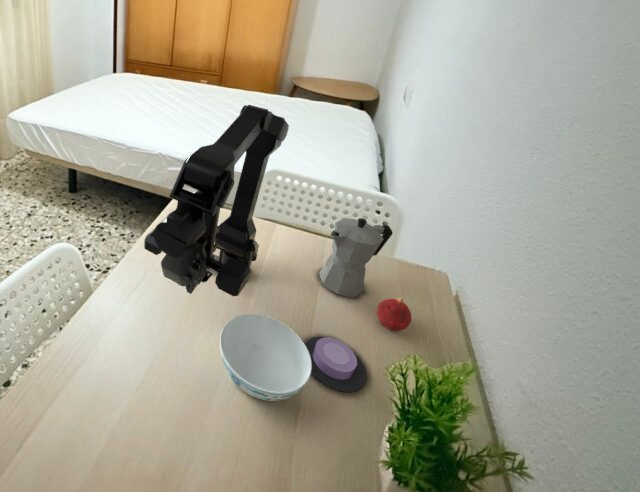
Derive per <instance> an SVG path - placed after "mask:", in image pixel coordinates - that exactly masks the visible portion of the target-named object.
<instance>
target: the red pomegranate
mask: <svg viewBox="0 0 640 492" xmlns="http://www.w3.org/2000/svg"><path fill="white" fill-rule="evenodd" d="M376 315H377V318H378V321H379V322H380V323H381V325H382V326H383V327H385V328H386V329H387V330H388V329H389V330H390V331H395V332H401V331H404V330H406V329H407V328H408V327H409V326H410V325H411V323H412V312H411V310H410V308H409V306H408V305H407V304H406V303H405V302H404V298H403V297H401V296H400V297H397V298H387V299H386V298H385V299H383V300H382V301H381V302H380V303H378V305H377V308H376Z"/></svg>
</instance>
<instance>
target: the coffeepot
mask: <svg viewBox="0 0 640 492" xmlns="http://www.w3.org/2000/svg"><path fill="white" fill-rule="evenodd" d="M392 236H393V230H392V228H391V227H390V225H388V224H383V225H381V224H375V225H371V224H369V223H368V221H367V219H365V218H361V217H360V218H358V219H357V218H356V219H355V218H348V217H343V218H342V219H340V220H338V221H336V222H335V223H334V230H332V231H331V232H330V237H331V238H332V247H331V248H332V253H331V254H330V255H329V257H328V258H327V259H326V261H325V263H324V265H323V266H322V267H321V269H320V271H319V277H320V280H321V283H322V284H323V286H324V287H325V288H326V289H328V290H329V291H331V292H332V293H334V294H336V295H338V296H342V297H347V298H351V297H353V298H355V297H357V296H359V294H360V293H361V292H363V291H364V285H365V284H364V283H365V277H366V270H367V268H366V264H367V263H369V262H370V261H371V259H372V258H373V256H375V257H376V256H377V255H378V254H379V252H380V251H381V250H382V249H383V247H384V246H385V245H386V243H387V242H388V241H389V240H390V239H391V237H392Z"/></svg>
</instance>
